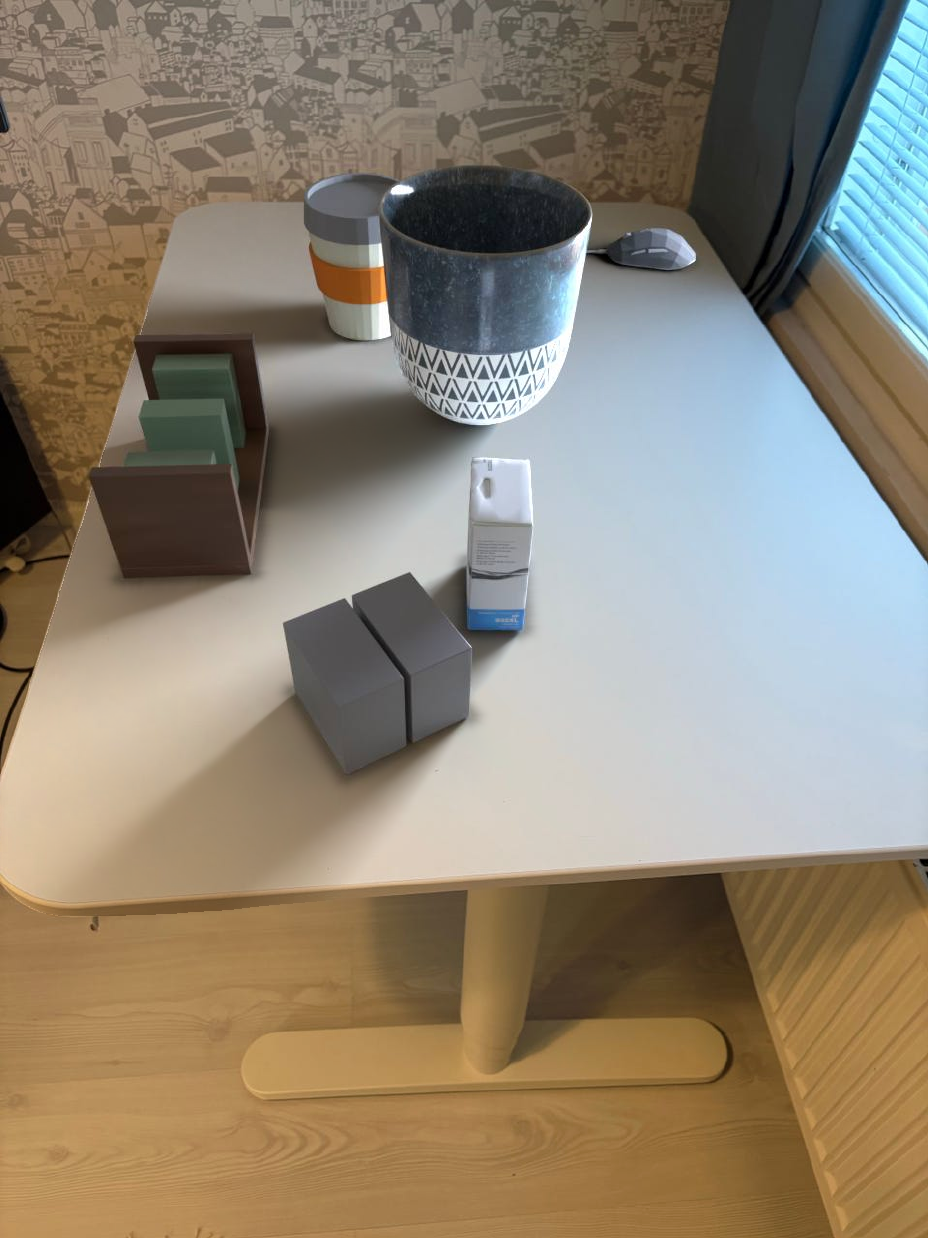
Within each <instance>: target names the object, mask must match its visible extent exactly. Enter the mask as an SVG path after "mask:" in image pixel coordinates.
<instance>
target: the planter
mask: <svg viewBox="0 0 928 1238" xmlns="http://www.w3.org/2000/svg"><path fill="white" fill-rule="evenodd" d="M399 180H400V181H398V182H396V183H395V184H393V185H392V186H391V187H389V188H388V189H387V190H386V191H385V192H384V194H383V195H382V197H381V199H380V201H379V206H378V211H379V226H380V239H381V248H382V257H383V266H384V277H385V289H386V299H387V308H388V317H389V327H390V341H391V346H392V350H393V354H394V357H395V361H396V364H397V366H398V369H399V372H400V374H401V376H402V378H403V380H404V382H405V384H406V385H407V387H408V388H409V389H410V391H411V392H412V394H413V395H414V396H415V397H416V398H417V399H418V400H419V401H420V402H421V403H422V404H423V405H425V406H426V407H427V408H429V410H431V411H433V412H434V413H436V414H437V415H439V416H441V417H442V418H445V419H448V420H450V421H453V422H456V423H459V424H463V425H464V424H465V425H469V426H488V425H496V424H500V423H503V422H507V421H509V420H512V419H514V418H517V417H519V416H521V415H522V414H524V413H526V412H527V411H528V410H530V409H531V408H532V407H534V406H536V405H537V404H538V403H539V402H540V401H541V400H542V399H543V398H544V397H545V396H546V395H547V393H548V392H549V390H550V389H551V388H552V386H553V385H554V383H555V382H556V380H557V377H558V375H559V374H560V371H561V369H562V367H563V364H564V362H565V359H566V356H567V353H568V349H569V345H570V342H571V338H572V337H571V336H572V331H573V327H574V325H573V324H574V321H575V316H576V310H577V306H578V301H579V295H580V294H579V293H580V290H581V289H580V287H581V284H582V283H581V282H582V277H583V272H584V268H585V267H584V265H585V260H586V256H587V253H586V251H587V250H588V245H589V239H590V233H591V227H592V220H593V211H592V210H593V209H592V207H591V204H590V202H589V200H588V199H587V198H586V197H585V196H584V195H583V194H582V193H581V192H580V191H579V190H578V189H576V188H575V187H573V186H571V185H570V184H568V183H566V182H564V181H562V180H560V179H557V178H555V177H552V176H549V175H547V174H543V173H540V172H537V171H533V170H528V169H523V168H518V167H514V166H513V167H511V166H504V165H493V164H492V165H490V164H464V165H452V166H444V167H437V168H431V169H428V170H424V171H421V172H417V173H414V174H411V175H408V176H406V177H404V178H402V179H399Z"/></svg>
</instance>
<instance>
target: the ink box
mask: <svg viewBox="0 0 928 1238" xmlns="http://www.w3.org/2000/svg"><path fill="white" fill-rule="evenodd" d="M531 480H532V478H531V464H530V460H529V459H526V458H501V457H477V456H472V459H471V461H470V482H469V483H470V485H469V502H468V517H467V518H468V519H467V541H466V628H467V630H469V631H522V630H523V629H524V622H525V613H526V604H527V603H526V602H527V594H528V593H527V592H528V582H529V572H530V561H531V554H532V543H533V532H534V517H533V500H532V498H533V497H532V483H531V482H532V481H531Z"/></svg>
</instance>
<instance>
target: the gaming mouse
mask: <svg viewBox="0 0 928 1238" xmlns="http://www.w3.org/2000/svg"><path fill="white" fill-rule="evenodd" d="M586 254H597V255H603V254H604V255H607V256H608V257H609V258H610V259H611V260H612V261H613V262H615V263H617V264H620V265H623V266H624V265H625V266H633V267H639V268H649V269H656V270H665V271H666V270H667V271H670V270H679V269H683V268H686V267H687V266H689V265H692V264H693V263H694V262H695V261H696V259H697V257H696V256H697V253H696V252H695V250H694V249H693V248H692V247H691V246H690V244H688V242H687V241H686V240H685V238H684V237H683V236H682V235H681V234H679V233H677V232H675V231H672V230H670V229H668V228H657V227H650V228H646V229H640V230H635V231H631V232H626V233H624V234H623V236H621V237H619V238H618V239H616V240H614V241H612V242H610V243H609V244H608V245H607V246H606V249H603V248H599V249H590V250H589V249H587V251H586Z"/></svg>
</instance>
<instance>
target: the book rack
mask: <svg viewBox="0 0 928 1238" xmlns="http://www.w3.org/2000/svg"><path fill="white" fill-rule="evenodd" d="M133 346H134V349H135V354H136V357H137V361H138V365H139V368H140V371H141V375H142V379H143V384H144V387H145V391H146V393H147V400H181V399H224V402H225V407H226V412H227V417H228V422H229V427H230V433H231V438H232V443H233V448H234V453H235V458H236V463H237V468H238V473H239V478H240V479H239V486H238V491H237V486H236V481H235V476H234V471H233V466H232V464H217V463H216V459H215V454H214V450H175V451H148V450H139V451H135V450H134V451H127V452H126V457H125V459H124V462H123V466H92V467H90V470H89V473H88V476H87V477H88V479H89V483H90V485H91V488H92V491H93V494H94V497H95V499H96V502H97V505H98V509H99V511H100V515H101V517H102V519H103V523H104V526H105V529H106V531H107V535H108V537H109V540H110V543H111V546H112V549H113V551H114V554H115V557H116V560H117V563H118V566H119V568H120V572H121V574H122V578H123V579H143V578H145V579H148V578H152V579H153V578H180V577H207V576H208V577H210V576H211V577H212V576H237V575H238V576H241V575H252V570H253V565H254V564H253V563H254V555H255V547H256V539H257V531H258V523H259V515H260V506H261V499H262V490H263V483H264V475H265V465H266V459H267V450H268V442H269V433H270V428H269V422H268V417H267V409H266V404H265V403H266V402H265V397H264V392H263V391H264V390H263V384H262V378H261V371H260V365H259V360H258V359H259V358H258V353H257V347H256V346H257V345H256V339H255V334H254V332H246V333H245V332H239V333H237V332H236V333H235V332H234V333H177V334H176V333H174V334H173V333H172V334H135V335H134V338H133Z"/></svg>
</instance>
